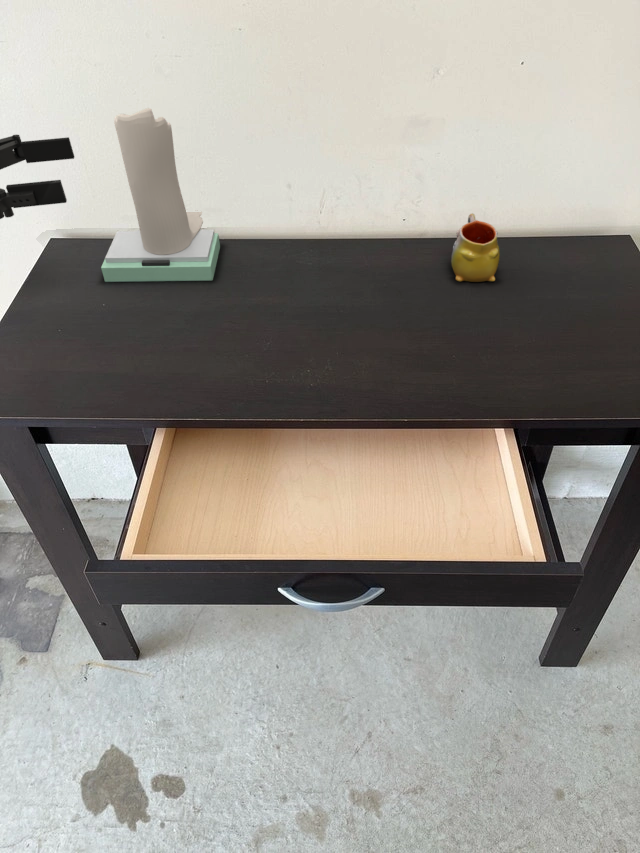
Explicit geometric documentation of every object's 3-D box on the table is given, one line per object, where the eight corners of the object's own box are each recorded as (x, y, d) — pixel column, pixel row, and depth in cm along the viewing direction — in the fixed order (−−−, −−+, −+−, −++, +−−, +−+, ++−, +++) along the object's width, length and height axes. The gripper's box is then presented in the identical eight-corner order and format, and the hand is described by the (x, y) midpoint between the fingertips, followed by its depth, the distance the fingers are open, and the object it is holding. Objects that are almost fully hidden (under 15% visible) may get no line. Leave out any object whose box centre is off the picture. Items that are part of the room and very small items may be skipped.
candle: (212, 211, 105) (193, 76, 91) (181, 257, 95) (153, 114, 81) (170, 208, 106) (144, 73, 92) (135, 252, 97) (100, 110, 82)
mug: (498, 286, 94) (506, 244, 89) (450, 284, 95) (455, 242, 90) (492, 243, 103) (499, 203, 98) (448, 241, 103) (453, 201, 98)
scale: (104, 281, 97) (99, 262, 95) (119, 248, 104) (114, 229, 102) (212, 280, 97) (209, 261, 94) (220, 246, 104) (217, 228, 101)
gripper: (-66, 171, 97) (81, 157, 99) (-112, 260, 80) (68, 240, 82) (-90, 119, 92) (66, 105, 94) (-144, 201, 74) (49, 182, 77)
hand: (68, 168), depth 88 cm, fingers open, 13 cm apart
